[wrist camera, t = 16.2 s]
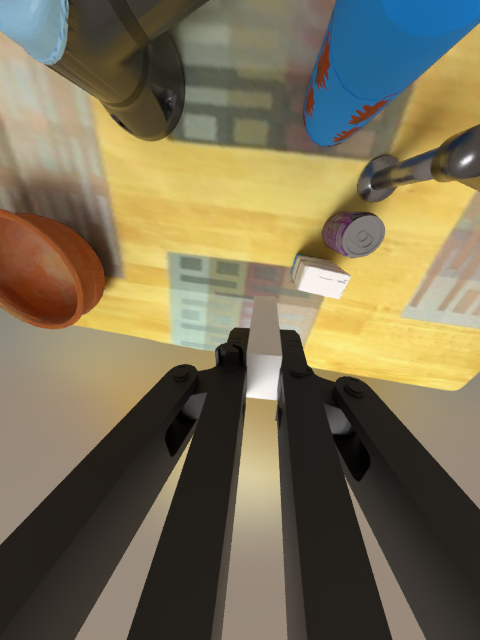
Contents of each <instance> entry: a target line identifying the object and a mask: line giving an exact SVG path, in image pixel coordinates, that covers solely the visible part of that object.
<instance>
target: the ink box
mask: <svg viewBox="0 0 480 640" xmlns="http://www.w3.org/2000/svg"><path fill="white" fill-rule="evenodd" d="M291 275H292V277H293V280H294V282H295V284H296V287H297V289H298V290H301V291H305V292H310V293H314V294H318V295H323V296H327V297H331V298H336V299H340V297H341V296H342V294H343V292H344V290H345V288H346V286H347V284H348V282H349V280H350V278H351V276H350V275H349V274H348V273H346V272H345V271H344V270H342V269H341V268H340V267H338V266H337V265H336V264H335V263H333V262H332V261H329V260H325V259H320V258H315V257H310V256H305V255H301V254H296V257H295V260H294V263H293V266H292V270H291Z"/></svg>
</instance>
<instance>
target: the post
mask: <svg viewBox="0 0 480 640" xmlns="http://www.w3.org/2000/svg"><path fill="white" fill-rule="evenodd" d="M438 148H439V147H438ZM438 148H436V149H433V150H430V151H428V152H425V153H423V154H420V155H417V156H415V157H412V158H409V159H407V160H404V161H402V162H399V161H398V160H397V159H396V158H395V157H392V156H382V157H379V158H377V159H375V160H373V161H372V162H370V163H369V164H368V165H367V166H366V167H365V168H364V170H363V171H362V173H361V174H360V177H359V179H358V184H357V190H358V194H359V196H360V197H361V198H362V199H363V200H364V201H366V202H378V201H381V200H383V199H385V198H387V197H388V196H389V195H391V194H392V193H393V191H394V190H395V189H396V187H397V186H402V185H407V184H412V183H416V182H421V181H426V180H431V179H434V178H433V177H432V175H431V171H430V166H431V162H432V159H433V156H434V154H435V153H436V151H437V150H438Z"/></svg>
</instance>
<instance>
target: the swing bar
mask: <svg viewBox="0 0 480 640" xmlns="http://www.w3.org/2000/svg"><path fill="white" fill-rule="evenodd" d="M430 171H431V175H432V177H433V178H434V179H435V180H436V181H438V182H451V181H458V182H460V183H462V184H465V185H467V186H469V187H471V188H473V189H475V190H478V191H480V124H479V125H477V126H474V127H472V128H470V129H467V130H465V131H462V132H460V133H458V134H455V135H453V136H451V137H450V138H448V139H447V140H446V141H445V142H444V143H443V144H442V145H441V146H440V147H439V148H438V150H437V151H436V153H435V154H434V156H433V159H432V162H431V166H430Z"/></svg>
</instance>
